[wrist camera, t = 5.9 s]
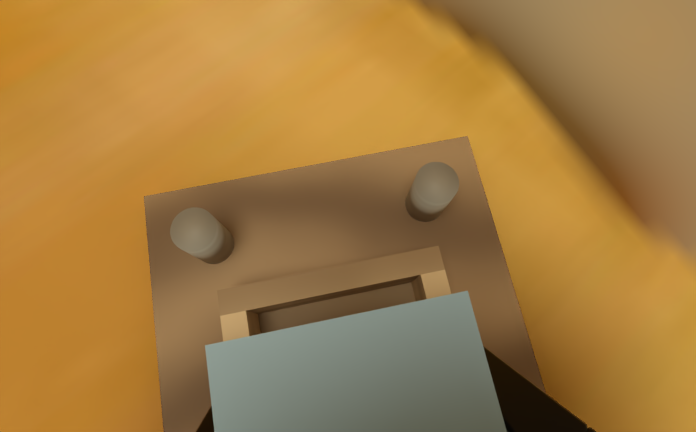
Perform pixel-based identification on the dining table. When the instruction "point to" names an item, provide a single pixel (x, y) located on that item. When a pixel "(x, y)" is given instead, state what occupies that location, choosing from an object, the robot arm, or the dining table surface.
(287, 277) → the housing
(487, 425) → the pale gray block
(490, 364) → the robot arm
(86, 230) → the dining table surface
